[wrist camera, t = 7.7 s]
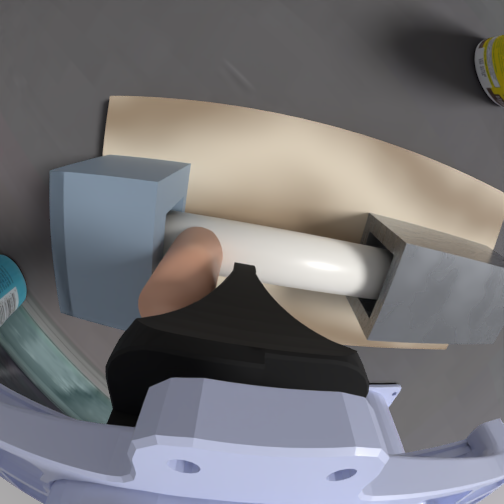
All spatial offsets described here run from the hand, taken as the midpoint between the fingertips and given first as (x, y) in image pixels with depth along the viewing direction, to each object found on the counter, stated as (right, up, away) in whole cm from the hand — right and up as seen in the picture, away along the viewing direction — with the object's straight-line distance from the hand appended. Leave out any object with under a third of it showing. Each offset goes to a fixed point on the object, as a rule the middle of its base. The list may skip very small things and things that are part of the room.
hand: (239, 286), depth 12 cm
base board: (+5, +2, +7) cm, 9 cm away
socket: (-6, +3, +5) cm, 9 cm away
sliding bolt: (+2, +2, +5) cm, 5 cm away
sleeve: (+12, 0, +7) cm, 14 cm away
